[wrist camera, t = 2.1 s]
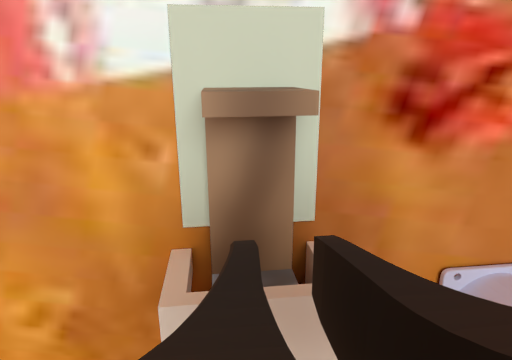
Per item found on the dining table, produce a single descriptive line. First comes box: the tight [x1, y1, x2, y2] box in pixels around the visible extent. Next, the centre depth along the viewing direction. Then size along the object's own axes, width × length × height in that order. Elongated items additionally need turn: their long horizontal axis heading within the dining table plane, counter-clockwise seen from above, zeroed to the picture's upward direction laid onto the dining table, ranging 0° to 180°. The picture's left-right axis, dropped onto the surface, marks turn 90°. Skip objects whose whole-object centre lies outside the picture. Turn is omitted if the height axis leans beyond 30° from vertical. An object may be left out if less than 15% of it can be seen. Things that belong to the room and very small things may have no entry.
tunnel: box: [158, 241, 338, 360], centre depth 20 cm, size 10×7×6 cm
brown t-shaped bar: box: [201, 87, 319, 287], centre depth 19 cm, size 5×17×5 cm, turn 0°
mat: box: [167, 4, 324, 227], centre depth 20 cm, size 8×12×1 cm, turn 0°
